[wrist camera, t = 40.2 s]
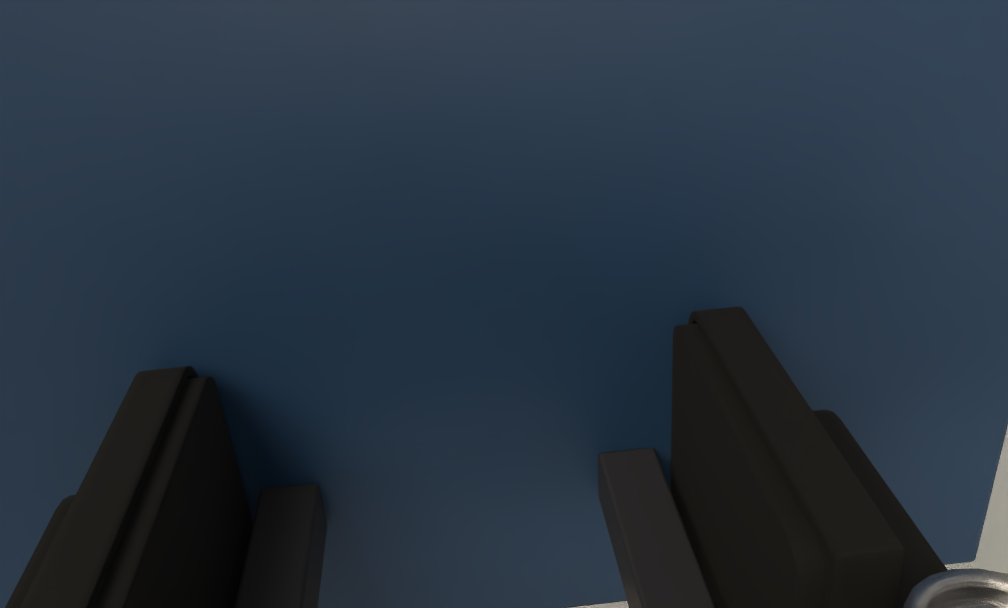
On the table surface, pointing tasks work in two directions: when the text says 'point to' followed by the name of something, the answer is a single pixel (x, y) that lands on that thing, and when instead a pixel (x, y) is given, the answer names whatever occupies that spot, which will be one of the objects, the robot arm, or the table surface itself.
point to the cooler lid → (497, 266)
